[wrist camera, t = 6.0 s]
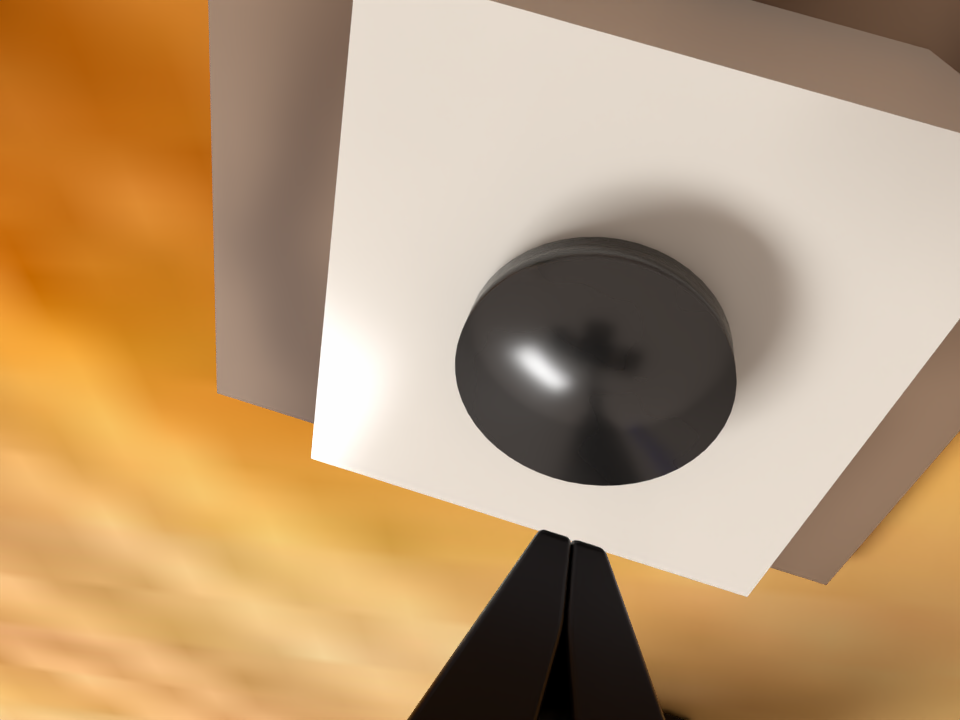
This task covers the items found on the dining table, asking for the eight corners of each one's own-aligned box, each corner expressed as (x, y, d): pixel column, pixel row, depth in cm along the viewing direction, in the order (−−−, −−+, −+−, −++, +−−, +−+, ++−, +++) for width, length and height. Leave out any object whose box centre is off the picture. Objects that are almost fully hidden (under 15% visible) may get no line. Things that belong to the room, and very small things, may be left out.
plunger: (747, 144, 16) (790, 313, 10) (672, 308, 19) (672, 515, 13) (553, 88, 16) (486, 223, 11) (507, 259, 19) (433, 440, 13)
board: (1489, -243, 12) (1548, -250, 11) (821, 561, 25) (826, 585, 24) (224, -558, 13) (195, -584, 12) (230, 376, 26) (217, 392, 25)
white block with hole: (929, 49, 15) (1076, 166, 9) (728, 402, 21) (747, 596, 15) (468, -79, 15) (356, -38, 10) (402, 303, 21) (310, 458, 16)
